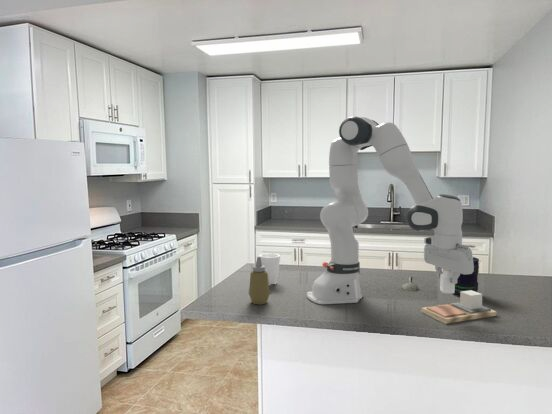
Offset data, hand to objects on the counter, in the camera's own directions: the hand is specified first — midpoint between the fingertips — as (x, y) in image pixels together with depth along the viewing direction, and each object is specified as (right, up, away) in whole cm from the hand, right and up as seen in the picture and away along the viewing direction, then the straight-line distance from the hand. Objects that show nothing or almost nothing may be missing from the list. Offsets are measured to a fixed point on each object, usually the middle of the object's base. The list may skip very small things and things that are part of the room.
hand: (447, 281), depth 139 cm
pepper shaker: (0, -4, 0) cm, 4 cm away
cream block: (+10, -10, +5) cm, 15 cm away
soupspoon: (+1, -10, +40) cm, 41 cm away
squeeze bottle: (-66, -12, +17) cm, 69 cm away
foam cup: (-62, -9, +43) cm, 76 cm away
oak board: (+5, -12, +3) cm, 14 cm away
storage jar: (+18, -10, +25) cm, 32 cm away
